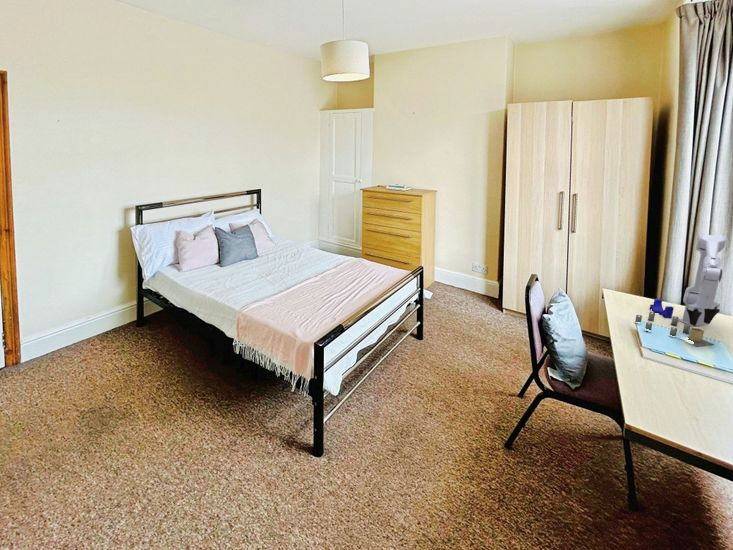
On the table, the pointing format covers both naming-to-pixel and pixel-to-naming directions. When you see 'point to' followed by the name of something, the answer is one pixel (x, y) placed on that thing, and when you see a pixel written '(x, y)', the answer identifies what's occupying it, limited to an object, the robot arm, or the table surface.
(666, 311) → the cable clip
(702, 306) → the robot arm
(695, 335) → the brass nut
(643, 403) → the table surface
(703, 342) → the mat
